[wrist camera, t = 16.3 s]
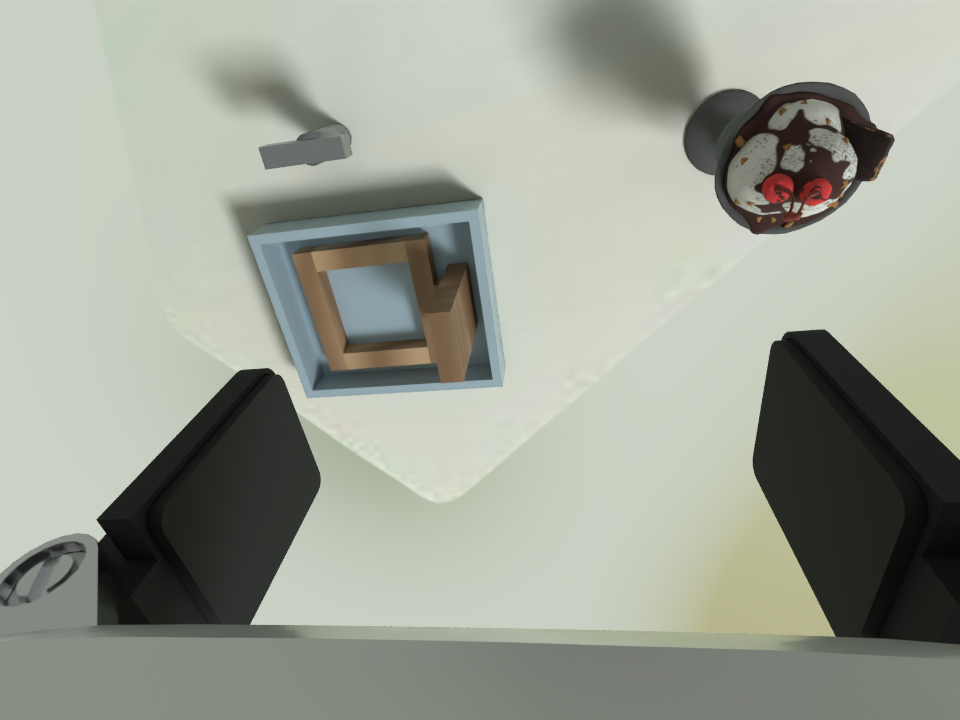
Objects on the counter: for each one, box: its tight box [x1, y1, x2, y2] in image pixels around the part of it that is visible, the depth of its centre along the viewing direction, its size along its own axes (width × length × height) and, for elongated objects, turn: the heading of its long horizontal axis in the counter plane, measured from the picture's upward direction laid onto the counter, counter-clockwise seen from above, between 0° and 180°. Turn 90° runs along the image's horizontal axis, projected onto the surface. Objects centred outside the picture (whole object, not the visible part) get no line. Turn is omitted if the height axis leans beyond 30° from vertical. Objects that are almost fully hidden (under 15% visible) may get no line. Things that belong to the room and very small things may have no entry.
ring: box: [292, 233, 478, 383], centre depth 36 cm, size 12×10×8 cm
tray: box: [247, 198, 505, 398], centre depth 39 cm, size 14×16×3 cm
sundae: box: [685, 82, 895, 234], centre depth 26 cm, size 7×7×15 cm
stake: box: [259, 123, 352, 169], centre depth 32 cm, size 2×5×6 cm, turn 98°
